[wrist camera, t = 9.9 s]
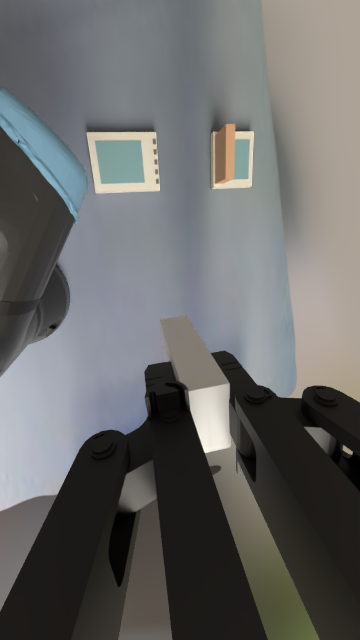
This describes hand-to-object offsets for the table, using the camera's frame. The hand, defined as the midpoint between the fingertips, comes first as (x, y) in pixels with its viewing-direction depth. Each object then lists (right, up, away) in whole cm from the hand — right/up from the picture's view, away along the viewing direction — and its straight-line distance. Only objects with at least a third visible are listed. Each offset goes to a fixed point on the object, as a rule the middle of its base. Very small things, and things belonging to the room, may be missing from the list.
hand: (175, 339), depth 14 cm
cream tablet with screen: (-7, +23, +22) cm, 33 cm away
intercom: (+8, +25, +24) cm, 35 cm away
